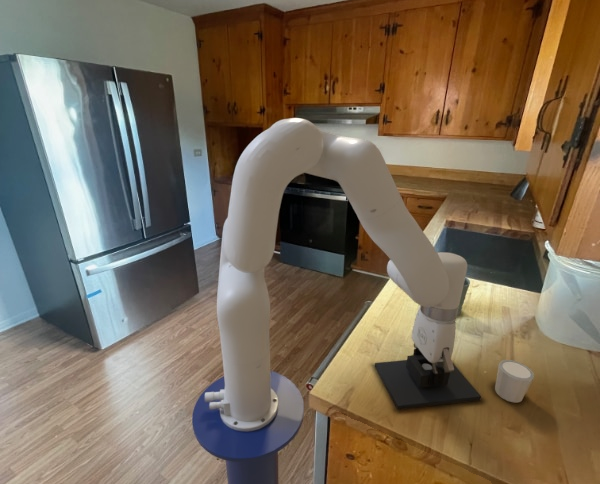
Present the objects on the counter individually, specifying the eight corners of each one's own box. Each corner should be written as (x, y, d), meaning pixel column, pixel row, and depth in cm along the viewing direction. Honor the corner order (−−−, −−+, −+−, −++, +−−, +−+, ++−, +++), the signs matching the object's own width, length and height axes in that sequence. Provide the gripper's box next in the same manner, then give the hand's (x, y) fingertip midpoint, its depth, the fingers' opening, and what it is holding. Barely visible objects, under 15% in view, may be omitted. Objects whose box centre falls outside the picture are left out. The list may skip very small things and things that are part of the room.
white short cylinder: (500, 378, 81) (507, 355, 79) (531, 396, 76) (540, 372, 73) (486, 390, 78) (493, 366, 75) (517, 409, 72) (525, 384, 70)
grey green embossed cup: (463, 307, 113) (470, 276, 108) (462, 322, 104) (470, 288, 100) (431, 300, 117) (437, 270, 112) (428, 314, 109) (434, 281, 104)
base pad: (397, 410, 72) (400, 393, 70) (374, 366, 85) (376, 351, 83) (480, 400, 75) (484, 384, 73) (446, 359, 88) (449, 345, 86)
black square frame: (419, 387, 75) (421, 375, 74) (405, 367, 82) (407, 355, 80) (447, 384, 76) (450, 372, 75) (431, 364, 83) (434, 353, 81)
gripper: (405, 290, 79) (396, 351, 86) (445, 333, 63) (430, 402, 70) (433, 289, 81) (423, 348, 87) (480, 329, 65) (462, 399, 71)
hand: (426, 372), depth 79 cm, fingers closed on black square frame, 7 cm apart
